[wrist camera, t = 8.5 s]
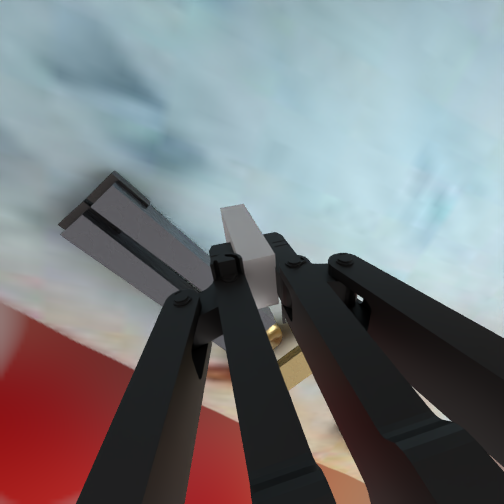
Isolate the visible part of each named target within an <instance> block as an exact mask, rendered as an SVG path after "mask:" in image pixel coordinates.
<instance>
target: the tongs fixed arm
mask: <svg viewBox="0 0 504 504" xmlns="http://www.w3.org/2000/svg"><path fill="white" fill-rule="evenodd" d="M92 205H93V203H92V202H91V201H89V200H88V199H87V198H86V199H85V200H84V201H83V202H82V203H81V204H80V205H79V206H78V207H76V208H75V209H74V210H73V211H72V212H71V213H70V214H69V215H68V216H67V217H65V218H64V219H63V220H62V221H61V222H60V223H59V224H58V225H59V226H60V227H62V228H63V229H65V230H64V231H63V232H62V233H61V234H60V235H61V236H62V237H64V238H65V239H67V240H68V241H70V242H71V243H72V244H74V245H75V246H77V247H78V248H80V249H81V250H82V251H84V252H85V253H87V254H88V255H90V256H91V257H92V258H94V259H95V260H97V261H98V262H100V263H101V264H102V265H104V266H105V267H107V268H108V269H110V270H111V271H113V272H114V273H115V274H117V275H118V276H120V277H121V278H123V279H124V280H125V281H127V282H128V283H130V284H131V285H133V286H134V287H135V288H137V289H138V290H140V291H141V292H143V293H144V294H145V295H147V296H148V297H150V298H151V299H153V300H154V301H155V302H157V303H158V304H160V305H161V306H163V305H164V303H165V301H166V299H167V298H168V297H169V296H170V295H171V294H172V293H174V292H176V291H179V290H183V289H192V290H195V291H197V290H196V289H195V288H194V287H193V286H191V285H190V284H189V283H188V282H186V281H185V280H184V279H183V278H181V277H180V276H179V275H178V274H177V273H175V272H174V271H173V270H172V269H170V268H169V267H168V266H167V265H166V264H164V263H163V262H162V261H161V260H159V259H158V258H157V257H156V256H154V255H153V254H152V253H151V252H150V251H148V250H147V249H146V248H144V247H143V246H142V245H140V244H139V243H138V242H136V241H135V240H134V239H132V238H131V237H130V236H128V235H127V234H126V233H124V232H123V231H122V230H120V229H119V228H118V227H116V226H115V225H114V224H112V223H111V222H110V221H108V220H107V219H106V218H104V217H103V216H102V215H100V214H99V213H98V212H96V211H95V210H94V209H92V208H91V206H92ZM197 293H200V292H199V291H197ZM266 333H267V335H268V338H269V341H270V343H271V346H272V349H274V348H276V347H277V346H278V345H279V344H280V342H281V340H282V332H281V329H280V327H279V325H278V324H277V323H275V324H274V325H273V326H272V327H270V328H269V329H268V330H267V331H266ZM212 341H213V342H214V343H216V344H217V345H218V346H220V347H221V348H223V349H224V350H226V347H225V342H224V336H223V335H221V336H220V337H218V338H216V339H214V340H212Z"/></svg>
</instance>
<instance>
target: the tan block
mask: <svg viewBox="0 0 504 504" xmlns="http://www.w3.org/2000/svg"><path fill="white" fill-rule="evenodd" d="M277 362H278V365H279V368H280V370H281V373H282V376H283V378H284V381H285V384H286V386H287V389H288V391H289V390H290V389H291V388H293V387H294V386H295V385H297V384H298V383H300V382H301V381H302V380H304V379H305V378H307V377H308V376H309V375H311V374H312V372H311V370H310V368H309V366H308V363H307V361H306V359H305V357H304V355H303V353H302V351H301V349H300V347H299V345H298V346H297V347H296V348H294V349H293V350H291V351H290V352H289V353H287V354H286V355H285V356H283V357H282V358H281V359H279V360H278V361H277Z"/></svg>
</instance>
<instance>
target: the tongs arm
mask: <svg viewBox="0 0 504 504" xmlns="http://www.w3.org/2000/svg"><path fill="white" fill-rule="evenodd" d="M87 199H88V200H89V201H91V202H92V203H93V205H92V206H91V208H92V209H94V210H95V211H96V212H98V213H99V214H100V215H102V216H103V217H104V218H106V219H107V220H108V221H110V222H111V223H112V224H114V225H115V226H116V227H118V228H119V229H120V230H122V231H123V232H124V233H126V234H127V235H128V236H130V237H131V238H132V239H134V240H135V241H136V242H138V243H139V244H140V245H142V246H143V247H144V248H146V249H147V250H148V251H150V252H151V253H152V254H154V255H155V256H156V257H158V258H159V259H160V260H162V261H163V262H164V263H165V264H167V265H168V266H169V267H171V268H172V269H173V270H175V271H176V272H177V273H179V274H180V275H181V276H183V277H184V278H185V279H187V280H188V281H189V282H191V283H192V284H193V285H195V286H196V287H197V288H199V289H200V290H201V291H204V290H205V289H207V288H208V287H209V286H210V285H211V284H212V283H213V276H212V272H211V267H210V261H211V260H210V256H209V255H207V254H206V253H205V252H204V251H203V250H202V249H200V248H199V247H198V246H197V245H196V244H195V243H194V242H192V241H191V240H190V239H189V238H188V237H187V236H185V235H184V234H183V233H182V232H181V231H180V230H179V229H177V228H176V227H175V226H174V225H173V224H172V223H170V222H169V221H168V220H167V219H166V218H165V217H164V216H162V215H161V214H160V213H159V212H158V211H157V210H155V209H154V208H153V207H152V206H151V205H150V201H149V200H148V199H147V198H146V197H144V196H143V195H142V194H141V193H140V192H139V191H138V190H136V189H135V188H134V187H133V186H132V185H131V184H130V183H128V182H127V181H126V180H125V179H124V178H123V177H122V176H120V175H119V174H118V173H117V172H116V171H115V170H114V171H113V172H112V173H111V174H110V175H109V176H108V177H107V178H106V179H105V180H104V181H103V182H102V183H101V184H100V185H99V186H98V187H97V188H96V189H95V190H94V191H93V192H92V193H91V194H90V195H89V196H88V197H87ZM258 311H259V314H260V317H261V319H262V322H263V325H264V327H265V330H266V331H267V330H268V329H269V328H270V327H272V326H273V325H274V324H275V323H276V321H275V319H274V317H273V315H272V313H271V311H270V309H269V307H264V308H260V309H258Z"/></svg>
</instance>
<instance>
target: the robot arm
mask: <svg viewBox="0 0 504 504" xmlns="http://www.w3.org/2000/svg"><path fill="white" fill-rule="evenodd" d="M220 210H221V215H222V221H223V226H224V232H225V237H226V243H223V244H218V245H213V246H212V247H211V248H210V250H209V254H210V260H211V261H210V267H211V272H212V276H213V283H212V284H211V285H210V286H209V287H208V288H207V289H205V290H204V291H202V292H200V293H197V291H195V290H192V289H183V290H179V291H176V292H174V293H172V294H171V295H170V296H169V297H168V298H167V299H166V301H165V303H164V305H163V307H162V309H161V312H160V314H159V316H158V318H157V321H156V323H155V325H154V328H153V330H152V332H151V334H150V337H149V339H148V341H147V343H146V346H145V348H144V350H143V353H142V355H141V357H140V359H139V362H138V364H137V366H136V368H135V371H134V373H133V375H132V378H131V380H130V382H129V384H128V387H127V389H126V391H125V393H124V396H123V398H122V400H121V403H120V405H119V407H118V409H117V412H116V414H115V416H114V418H113V421H112V423H111V425H110V428H109V430H108V432H107V434H106V437H105V439H104V441H103V444H102V446H101V448H100V450H99V453H98V455H97V457H96V460H95V462H94V464H93V466H92V469H91V471H90V473H89V475H88V478H87V480H86V482H85V484H84V487H83V489H82V491H81V494H80V496H79V498H78V500H77V503H76V504H184V503H185V497H186V491H187V486H188V480H189V474H190V468H191V462H192V456H193V450H194V445H195V439H196V433H197V428H198V422H199V416H200V410H201V405H202V399H203V393H204V387H205V381H206V376H207V370H208V364H209V358H210V352H211V347H212V340H214V339H216V338H218V337H220V336H221V335H223V336H224V342H225V347H226V353H227V358H228V364H229V370H230V375H231V381H232V386H233V392H234V398H235V403H236V409H237V414H238V420H239V425H240V431H241V437H242V442H243V448H244V453H245V459H246V465H247V470H248V476H249V482H250V489H251V498H252V504H336V502H335V499H334V497H333V494H332V492H331V489H330V487H329V485H328V482H327V480H326V477H325V476H324V474H323V472H322V470H321V468H320V467H319V466H318V465H317V464H316V462H315V460H314V458H313V456H312V453H311V451H310V448H309V445H308V443H307V440H306V437H305V435H304V432H303V429H302V427H301V424H300V421H299V419H298V416H297V413H296V411H295V408H294V405H293V402H292V400H291V397H290V394H289V392H288V389H287V386H286V384H285V381H284V378H283V376H282V373H281V370H280V368H279V365H278V362H277V359H276V357H275V354H274V351H273V349H272V346H271V343H270V341H269V338H268V335H267V333H266V330H265V327H264V325H263V322H262V319H261V317H260V314H259V311H258V309H260V308H264V307H268V306H272V305H276V304H279V300H278V296H279V298H280V300H281V304H282V319H283V323H286V322H285V318H286V320H287V322H288V324H289V326H290V328H291V330H292V332H293V334H294V336H295V338H296V341H297V343H298V345H299V347H300V349H301V351H302V353H303V355H304V357H305V359H306V361H307V363H308V366H309V368H310V370H311V372H312V374H313V376H314V378H315V380H316V382H317V384H318V386H319V388H320V390H321V393H322V395H323V397H324V399H325V401H326V403H327V405H328V407H329V409H330V411H331V413H332V415H333V418H334V420H335V422H336V424H337V426H338V428H339V430H340V432H341V434H342V436H343V438H344V440H345V442H346V445H347V447H348V449H349V451H350V453H351V455H352V457H353V459H354V461H355V463H356V465H357V467H358V470H359V472H360V474H361V476H362V478H363V480H364V482H365V485H366V487H367V490H368V493H369V497H370V502H371V504H504V471H503V470H502V469H501V468H500V467H499V466H498V465H497V463H496V462H495V461H494V460H493V459H492V458H491V457H490V455H491V456H492V457H493V458H494V459H495V460H496V461H497V462H499V463H500V464H501V465H502V466H503V467H504V338H502V337H501V336H499V335H497V334H495V333H494V332H492V331H490V330H488V329H486V328H485V327H483V326H481V325H479V324H477V323H476V322H474V321H472V320H470V319H468V318H467V317H465V316H463V315H461V314H459V313H458V312H456V311H454V310H452V309H450V308H449V307H447V306H445V305H443V304H441V303H440V302H438V301H436V300H434V299H432V298H431V297H429V296H427V295H425V294H423V293H422V292H420V291H418V290H416V289H415V288H413V287H411V286H409V285H407V284H406V283H404V282H402V281H400V280H398V279H397V278H395V277H393V276H391V275H389V274H388V273H386V272H384V271H382V270H380V269H379V268H377V267H375V266H373V265H371V264H370V263H368V262H366V261H364V260H362V259H361V258H359V257H357V256H355V255H352V254H348V253H338V254H334V255H332V256H330V257H329V259H328V264H312V263H311V262H310V261H309V260H308V259H307V258H306V257H304V256H301V255H297V254H296V253H295V252H294V250H293V249H292V248H291V246H290V245H289V244H288V243H287V241H286V240H285V239H284V237H283V236H282V235H280V234H278V233H276V232H273V233H268V234H262V232H261V231H260V229H259V228H258V226H257V224H256V223H255V221H254V220H253V218H252V216H251V215H250V213H249V212H248V210H247V208H246V207H245V205H244V204H240V205H234V206H229V207H224V208H220ZM357 294H358V295H359V296H361V297H362V298H363V302H362V301H360V300H359V299H357ZM412 387H413V388H415V389H416V390H417V391H418V392H419V393H420V394H421V395H422V396H424V397H425V398H426V399H427V400H428V401H429V402H430V403H432V404H433V405H434V406H435V407H436V408H437V409H438V410H440V411H441V412H442V413H443V414H444V415H445V416H446V417H447V418H449V419H450V420H451V421H452V422H451V421H446V420H442V419H440V418H439V417H437V416H436V415H435V414H434V413H433V412H432V411H431V410H430V408H429V407H428V406H427V405H426V404H425V402H424V401H423V400H422V399H421V397H420V396H419V395H418V394H417V392H416V391H415V390H414V389H413V388H412Z"/></svg>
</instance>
